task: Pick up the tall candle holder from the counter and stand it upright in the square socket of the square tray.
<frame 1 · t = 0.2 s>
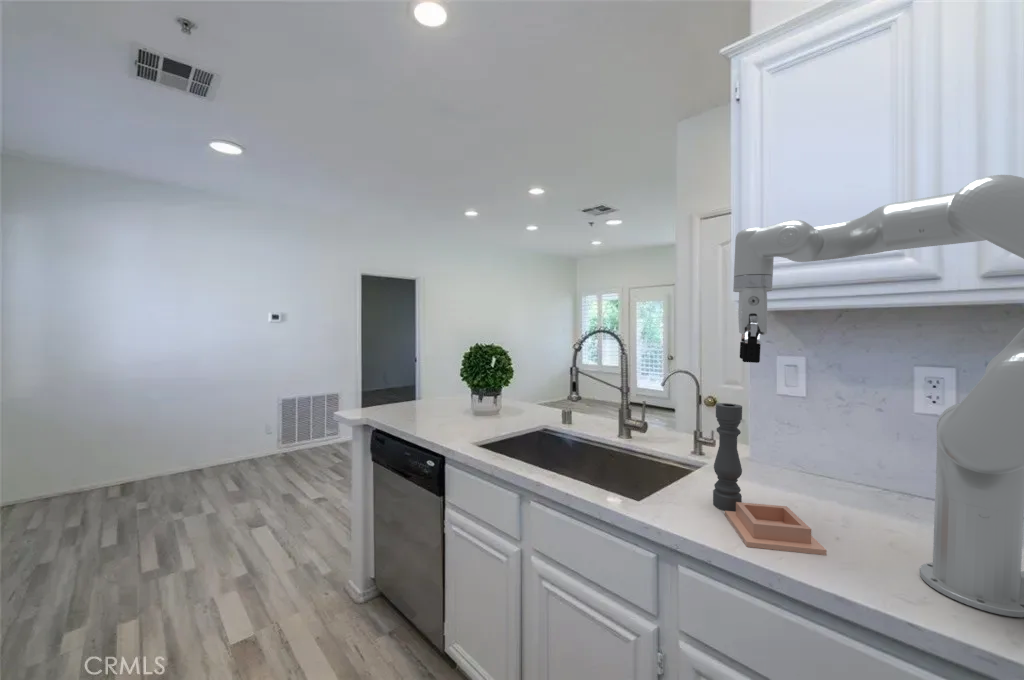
hand: (749, 360, 90), 36 cm above the worktop, tool pointing down, fingers open, 9 cm apart
candle holder: (726, 507, 98), on the worktop
square tray: (770, 533, 85), on the worktop
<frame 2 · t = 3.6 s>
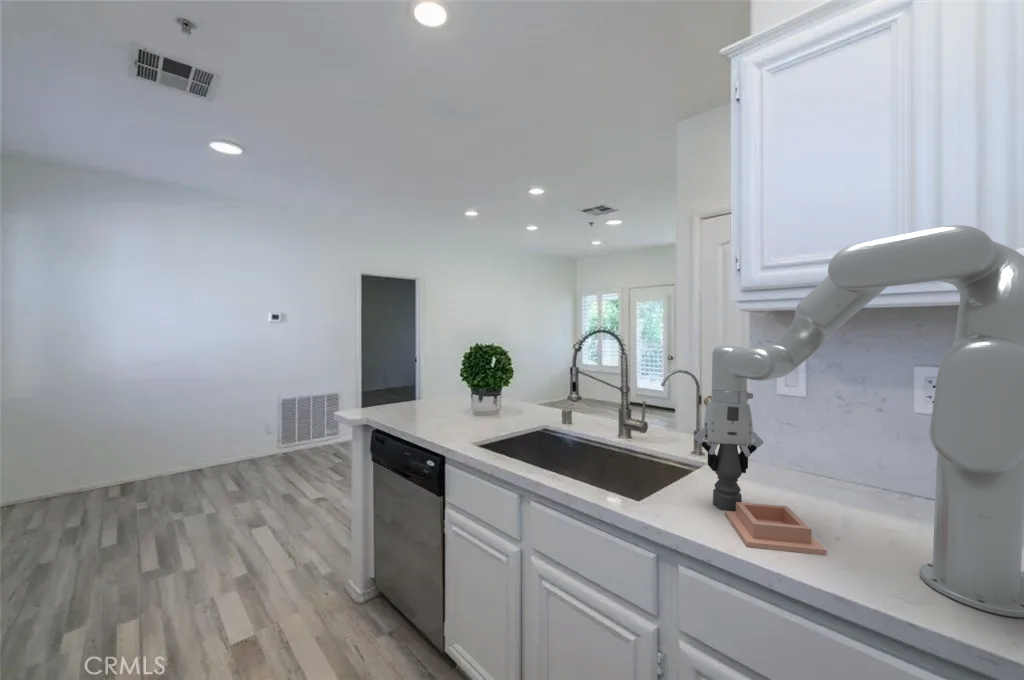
hand: (727, 469, 98), 9 cm above the worktop, tool pointing down, fingers closed on candle holder, 5 cm apart
candle holder: (726, 507, 98), on the worktop, touching gripper
when the fingers open (11 cm above the worktop, at t = 9.6 s): candle holder stays where it is, resting on square tray.
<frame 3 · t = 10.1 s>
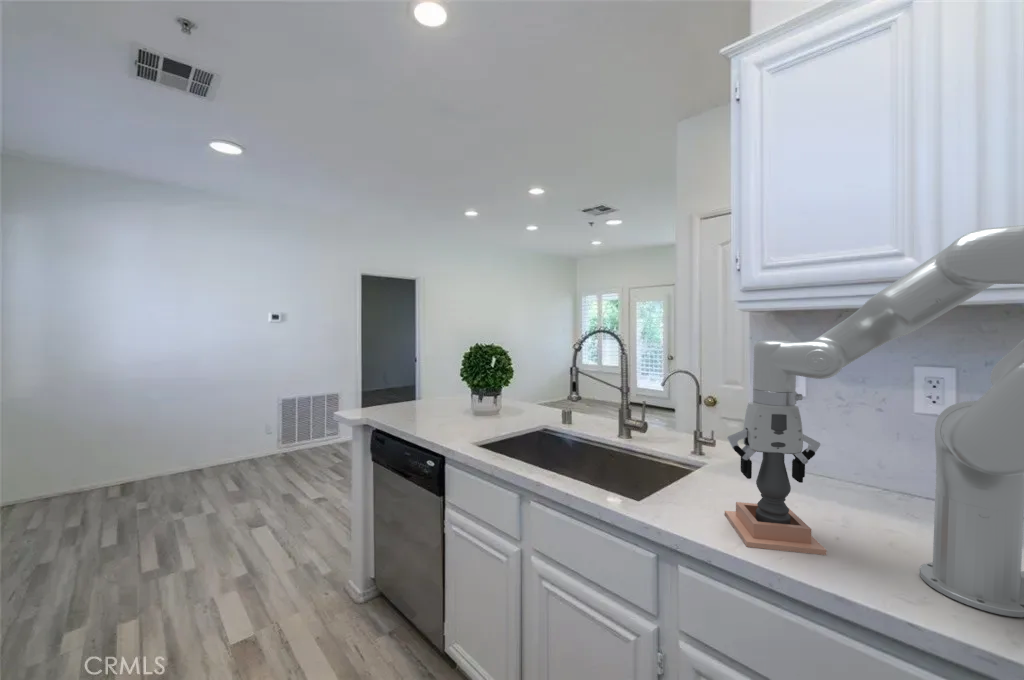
hand: (771, 478, 85), 12 cm above the worktop, tool pointing down, fingers open, 9 cm apart
candle holder: (772, 529, 85), point 1 cm above the worktop, touching square tray
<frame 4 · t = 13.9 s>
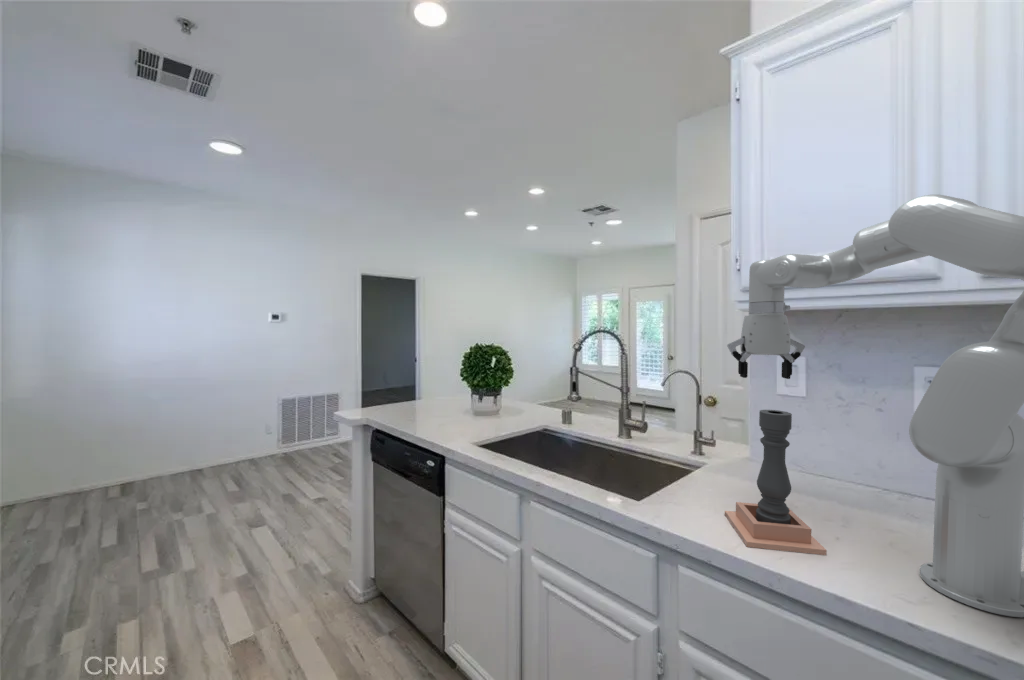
hand: (764, 377, 101), 31 cm above the worktop, tool pointing down, fingers open, 9 cm apart
nothing on the worktop moved.
at the end: candle holder 0.4 cm off-centre on the square tray, point 0.8 cm above the square tray's base; candle holder tilted 0°; the gripper is holding nothing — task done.
